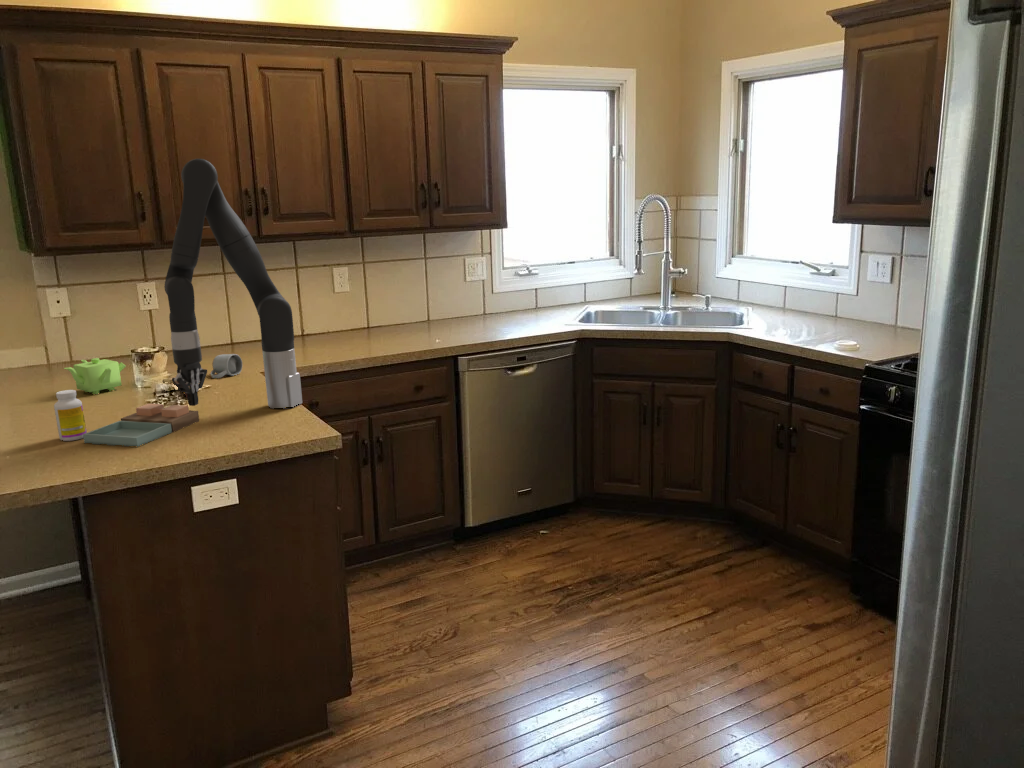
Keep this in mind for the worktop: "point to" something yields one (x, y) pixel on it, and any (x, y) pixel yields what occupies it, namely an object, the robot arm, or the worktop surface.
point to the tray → (127, 433)
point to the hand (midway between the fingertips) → (193, 404)
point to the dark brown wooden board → (166, 419)
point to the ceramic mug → (226, 365)
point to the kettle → (97, 375)
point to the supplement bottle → (69, 416)
